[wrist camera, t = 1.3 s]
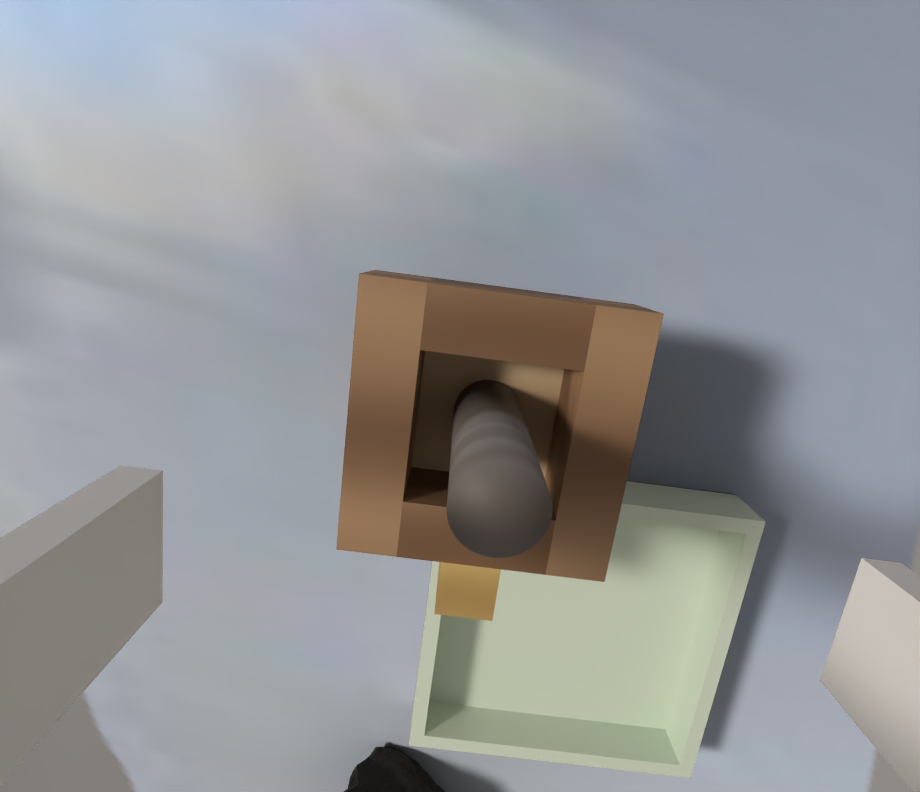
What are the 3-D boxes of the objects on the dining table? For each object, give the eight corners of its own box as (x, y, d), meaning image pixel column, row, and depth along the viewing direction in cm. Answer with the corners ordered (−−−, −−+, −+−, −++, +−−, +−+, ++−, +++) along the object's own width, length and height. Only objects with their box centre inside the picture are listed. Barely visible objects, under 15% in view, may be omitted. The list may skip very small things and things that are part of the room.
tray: (445, 458, 27) (443, 481, 25) (736, 495, 28) (765, 521, 25) (414, 701, 31) (408, 745, 28) (671, 732, 31) (690, 778, 29)
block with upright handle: (427, 292, 25) (382, 341, 12) (558, 309, 25) (663, 378, 12) (410, 438, 27) (355, 627, 14) (533, 454, 27) (600, 656, 14)
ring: (375, 269, 19) (359, 273, 16) (634, 304, 19) (663, 314, 17) (349, 555, 22) (332, 601, 19) (576, 582, 22) (593, 633, 19)
